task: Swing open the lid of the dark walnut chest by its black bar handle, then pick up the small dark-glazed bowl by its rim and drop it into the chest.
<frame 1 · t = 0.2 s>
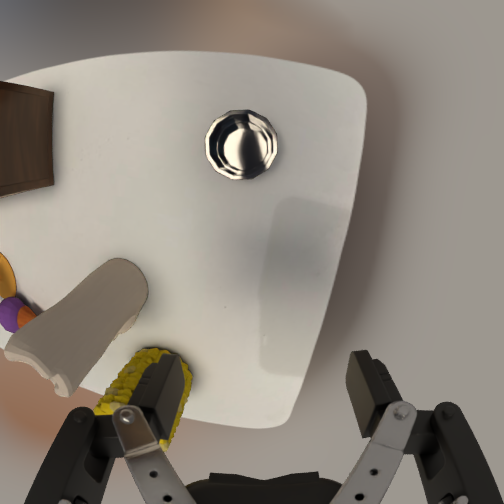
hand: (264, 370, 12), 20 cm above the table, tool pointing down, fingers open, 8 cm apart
bowl: (244, 147, 28), on the table
chest: (10, 152, 28), on the table
food: (161, 366, 37), on the table
candle: (115, 303, 34), on the table, touching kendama
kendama: (49, 315, 35), on the table, touching candle
cup: (2, 275, 34), on the table
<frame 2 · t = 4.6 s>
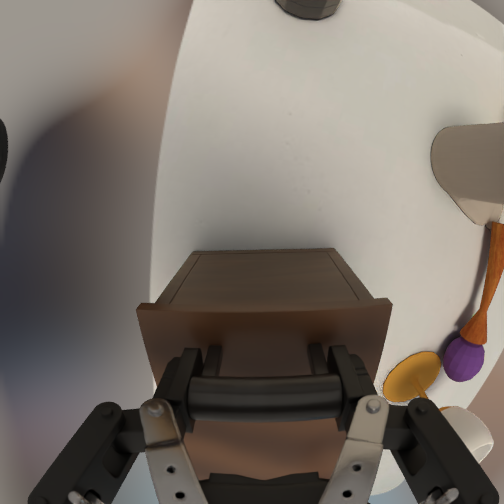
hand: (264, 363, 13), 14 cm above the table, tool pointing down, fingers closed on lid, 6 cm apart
chest: (265, 341, 29), on the table
candle: (471, 181, 23), on the table, touching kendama
lid: (265, 459, 14), point 15 cm above the table, hinge at -0.1°, touching gripper
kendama: (472, 298, 26), on the table, touching candle
cup: (412, 376, 30), on the table
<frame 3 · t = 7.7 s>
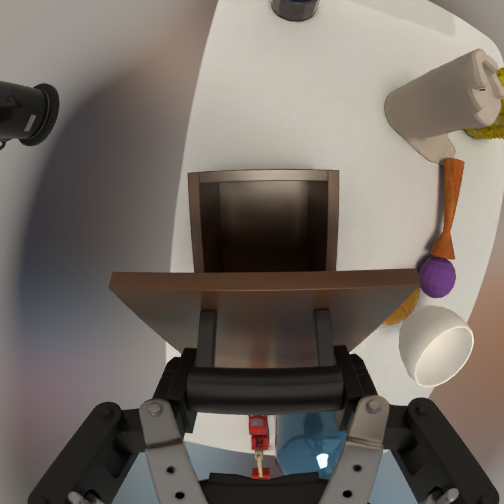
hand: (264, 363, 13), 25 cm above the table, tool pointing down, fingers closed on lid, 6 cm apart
bowl: (293, 6, 27), on the table
chest: (264, 247, 37), on the table
wine bottle: (311, 391, 44), on the table
food: (468, 111, 30), on the table
candle: (422, 129, 32), on the table, touching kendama
toy fire truck: (260, 429, 48), on the table
lid: (265, 378, 18), point 21 cm above the table, hinge at 41.0°, touching gripper
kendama: (437, 225, 35), on the table, touching candle
cup: (393, 297, 39), on the table
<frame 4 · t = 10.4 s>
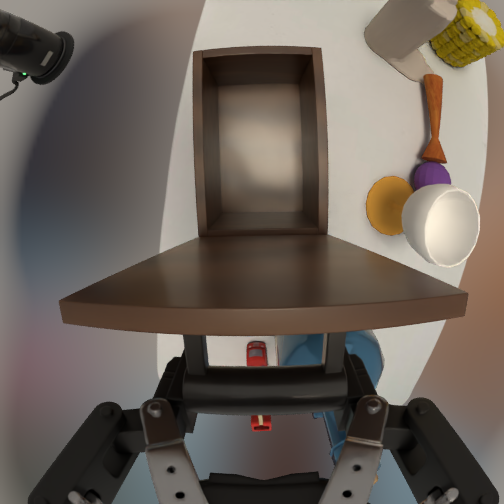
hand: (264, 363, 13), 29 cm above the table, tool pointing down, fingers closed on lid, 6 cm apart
chest: (260, 146, 37), on the table
wine bottle: (314, 316, 44), on the table
food: (443, 45, 29), on the table
candle: (401, 54, 31), on the table, touching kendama
toy fire truck: (259, 370, 48), on the table
lid: (264, 292, 18), point 23 cm above the table, hinge at 81.7°, touching gripper
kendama: (426, 136, 35), on the table, touching candle
cup: (391, 205, 39), on the table
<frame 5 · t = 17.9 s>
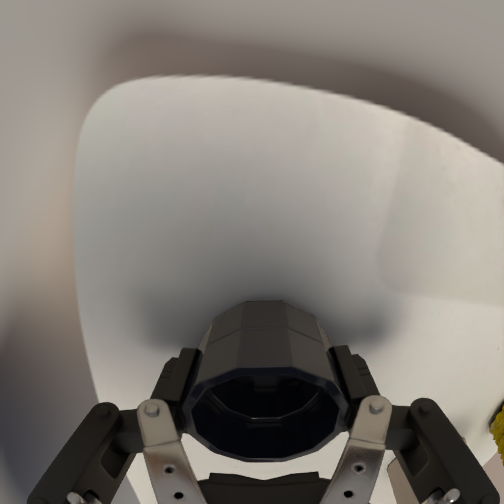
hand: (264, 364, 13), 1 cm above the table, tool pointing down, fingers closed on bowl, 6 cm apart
bowl: (265, 349, 14), on the table, touching gripper
candle: (433, 456, 19), on the table, touching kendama
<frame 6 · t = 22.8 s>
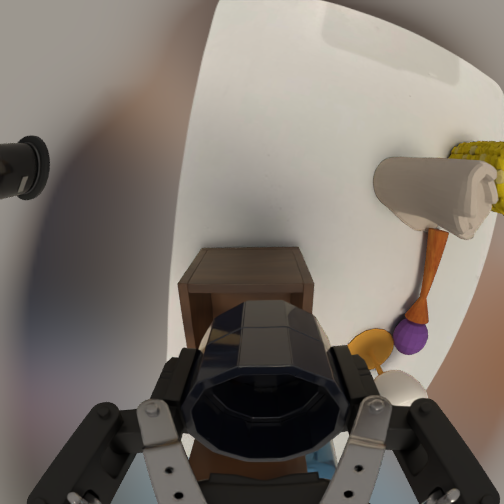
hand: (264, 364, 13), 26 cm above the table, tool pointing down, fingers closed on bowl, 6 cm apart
bowl: (265, 349, 14), point 25 cm above the table, touching gripper
chest: (251, 313, 41), on the table
wine bottle: (294, 421, 48), on the table
food: (461, 171, 33), on the table
candle: (410, 197, 35), on the table, touching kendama
lid: (246, 493, 22), point 23 cm above the table, hinge at 82.3°
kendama: (416, 287, 39), on the table, touching candle
cup: (369, 349, 43), on the table
when the fingers open (12 cm above the table, at t = 27.8 s): bowl drops 9 cm, resting on chest.
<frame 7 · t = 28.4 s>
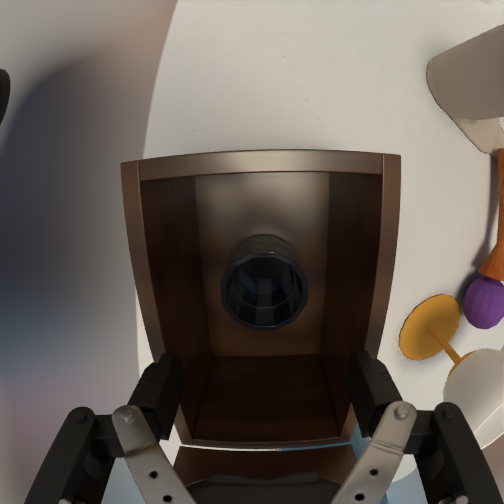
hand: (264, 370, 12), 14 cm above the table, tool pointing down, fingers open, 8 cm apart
bowl: (264, 268, 25), point 1 cm above the table, touching chest
chest: (264, 270, 26), on the table
wine bottle: (321, 434, 33), on the table
candle: (471, 108, 20), on the table, touching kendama
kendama: (487, 234, 24), on the table, touching candle
cup: (430, 327, 28), on the table
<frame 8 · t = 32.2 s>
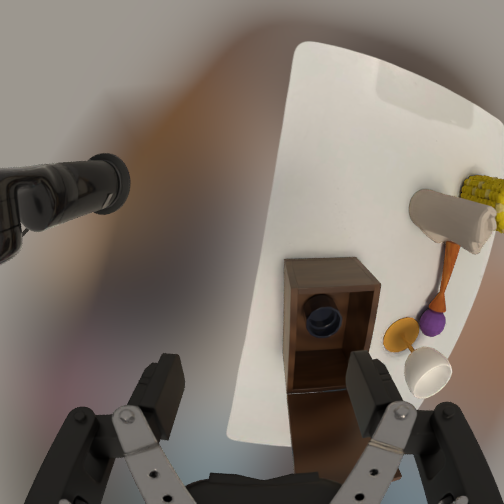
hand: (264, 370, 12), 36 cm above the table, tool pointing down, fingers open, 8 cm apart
bowl: (319, 308, 50), point 1 cm above the table, touching chest
chest: (318, 308, 51), on the table
food: (470, 196, 44), on the table
candle: (433, 218, 45), on the table, touching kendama
lid: (334, 444, 32), point 23 cm above the table, hinge at 82.3°
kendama: (436, 285, 49), on the table, touching candle
cup: (401, 334, 53), on the table
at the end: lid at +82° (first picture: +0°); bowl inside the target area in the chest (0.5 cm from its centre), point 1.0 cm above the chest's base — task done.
